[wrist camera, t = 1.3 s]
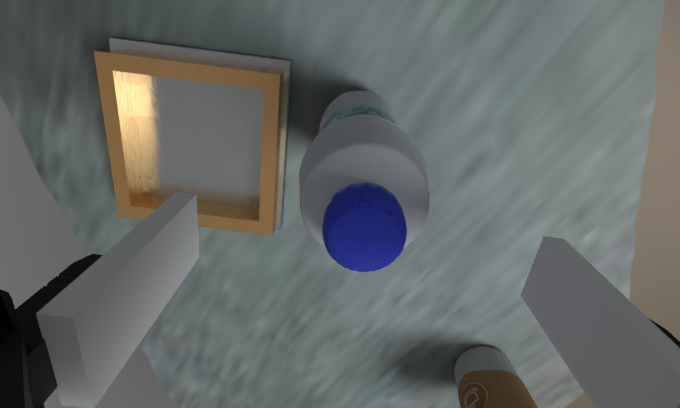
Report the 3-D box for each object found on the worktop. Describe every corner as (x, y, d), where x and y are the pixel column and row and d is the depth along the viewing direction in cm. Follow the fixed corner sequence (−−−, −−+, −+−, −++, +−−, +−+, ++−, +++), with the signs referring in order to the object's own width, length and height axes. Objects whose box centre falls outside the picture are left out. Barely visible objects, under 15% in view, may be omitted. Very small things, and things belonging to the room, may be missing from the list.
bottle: (341, 173, 34) (328, 337, 16) (305, 107, 31) (241, 207, 13) (409, 142, 32) (483, 280, 14) (378, 69, 30) (418, 124, 12)
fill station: (117, 37, 29) (87, 38, 26) (292, 60, 30) (284, 63, 26) (138, 206, 36) (116, 224, 32) (282, 223, 36) (275, 243, 33)
